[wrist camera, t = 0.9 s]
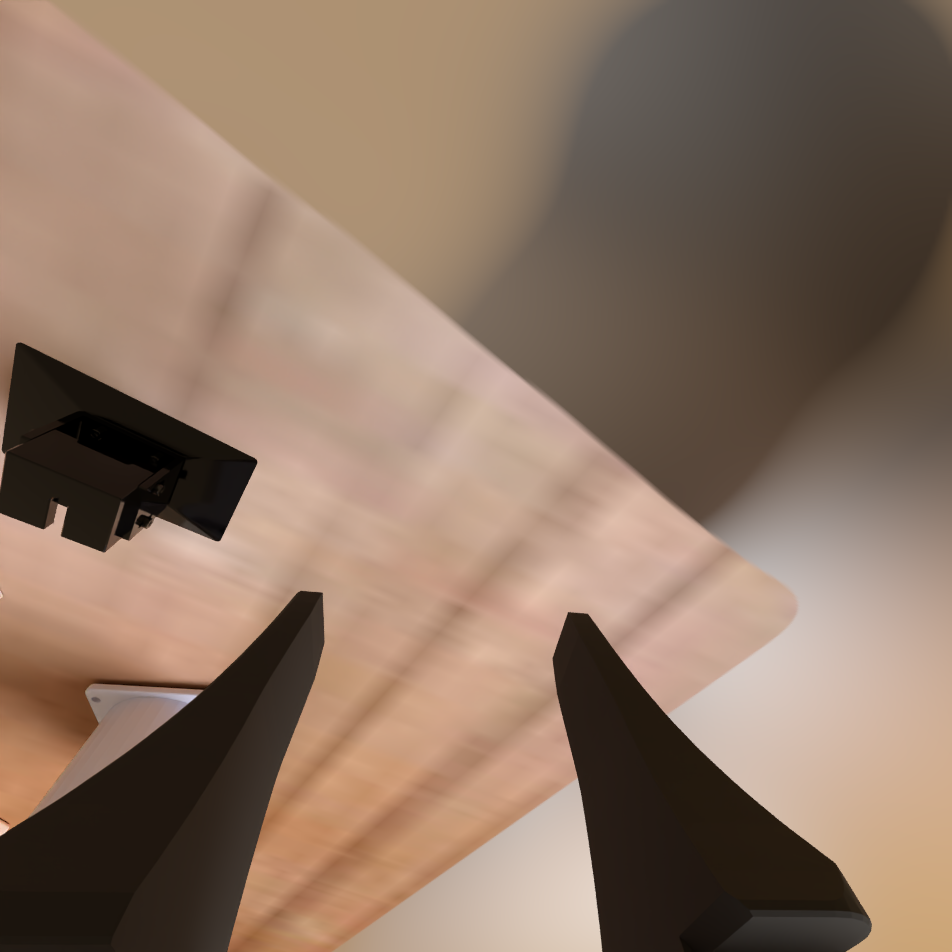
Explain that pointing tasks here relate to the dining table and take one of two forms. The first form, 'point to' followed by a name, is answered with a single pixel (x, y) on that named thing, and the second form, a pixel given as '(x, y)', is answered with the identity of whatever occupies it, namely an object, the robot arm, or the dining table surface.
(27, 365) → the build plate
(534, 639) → the dining table surface
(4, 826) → the jar
